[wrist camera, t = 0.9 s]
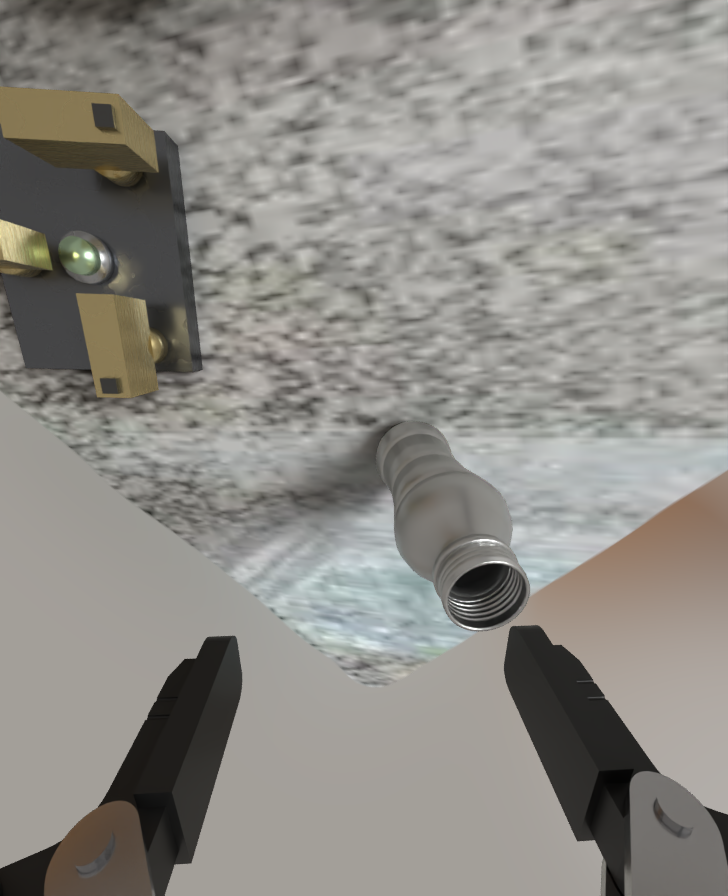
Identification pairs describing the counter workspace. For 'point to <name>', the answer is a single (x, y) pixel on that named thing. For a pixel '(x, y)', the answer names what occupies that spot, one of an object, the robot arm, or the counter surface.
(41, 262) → the bar with square hole
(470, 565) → the plastic bottle
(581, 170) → the counter surface
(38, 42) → the counter surface
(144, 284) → the levelling plate
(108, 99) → the knob
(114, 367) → the knob
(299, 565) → the counter surface
